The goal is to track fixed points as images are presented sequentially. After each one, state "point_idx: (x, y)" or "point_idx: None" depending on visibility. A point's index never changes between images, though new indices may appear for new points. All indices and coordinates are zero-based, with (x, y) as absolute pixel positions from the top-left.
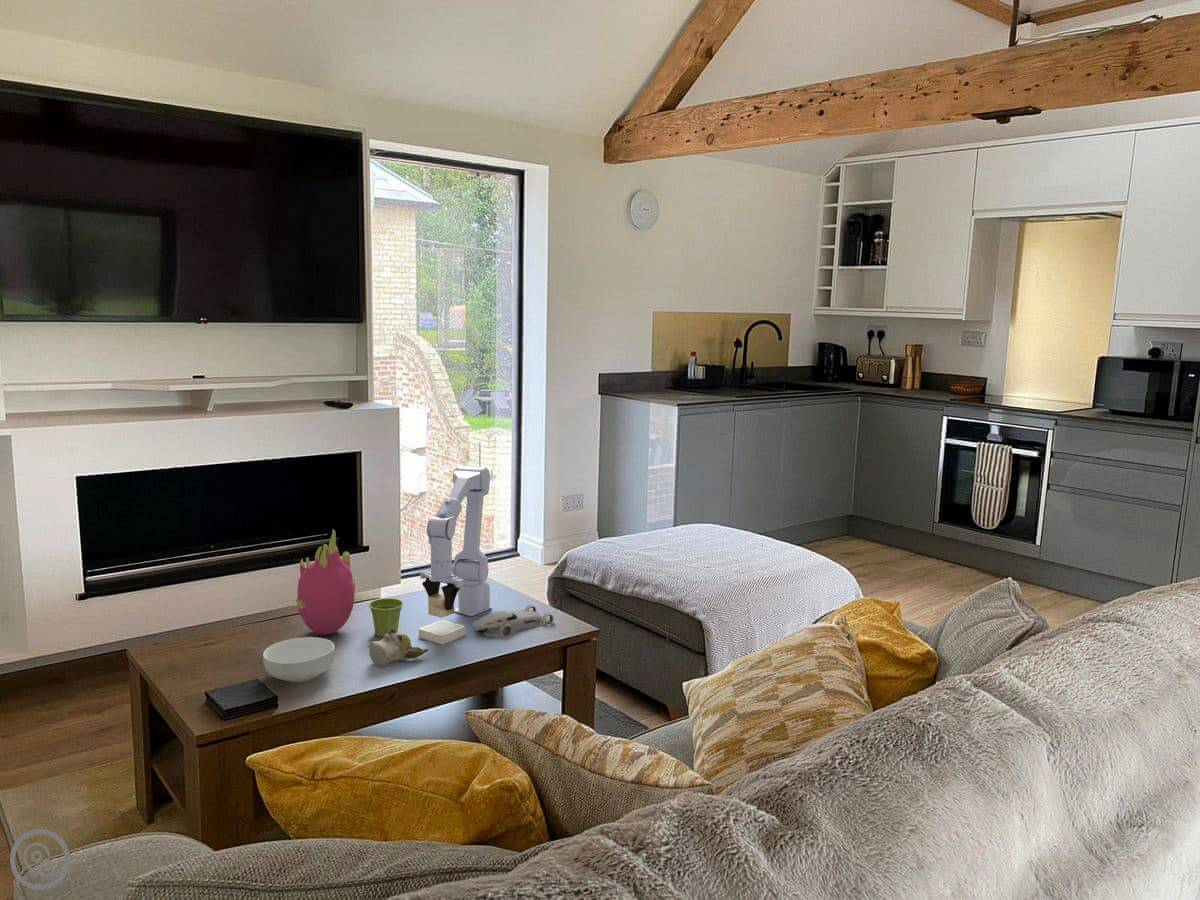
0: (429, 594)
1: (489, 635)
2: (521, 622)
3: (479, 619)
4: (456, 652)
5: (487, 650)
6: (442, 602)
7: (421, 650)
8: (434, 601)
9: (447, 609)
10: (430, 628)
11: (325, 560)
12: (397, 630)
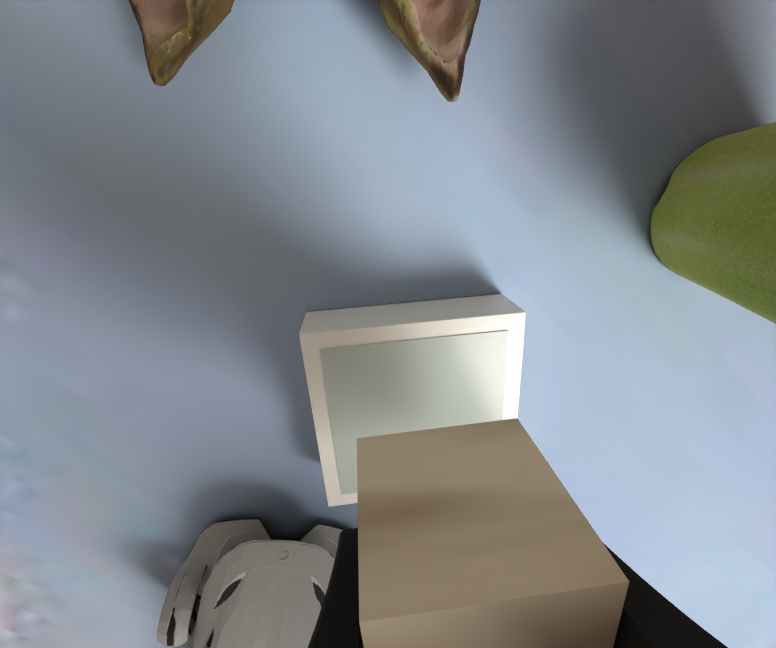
0: (658, 630)
1: (218, 529)
2: None
3: (324, 595)
4: (135, 287)
5: (52, 420)
6: (362, 594)
7: (178, 26)
8: (491, 555)
9: (339, 540)
10: (463, 363)
11: None
12: (664, 255)
